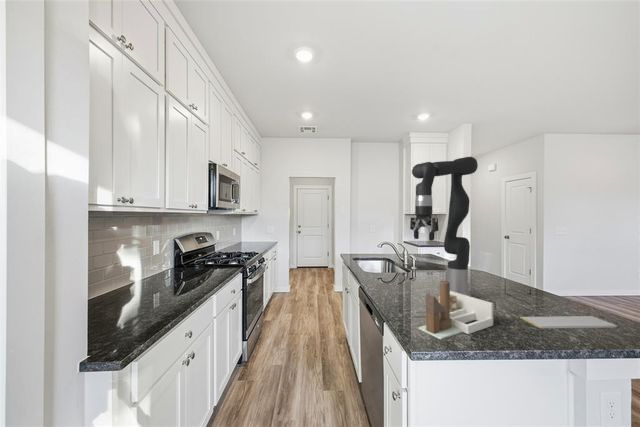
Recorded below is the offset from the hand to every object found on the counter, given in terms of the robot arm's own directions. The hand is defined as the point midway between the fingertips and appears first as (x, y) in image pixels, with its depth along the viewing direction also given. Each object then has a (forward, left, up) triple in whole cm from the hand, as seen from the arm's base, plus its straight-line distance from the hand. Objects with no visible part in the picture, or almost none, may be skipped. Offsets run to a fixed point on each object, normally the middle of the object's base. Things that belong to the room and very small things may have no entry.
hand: (423, 239), depth 122 cm
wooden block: (+12, +18, -33) cm, 39 cm away
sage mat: (+12, +18, -33) cm, 40 cm away
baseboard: (-41, +37, -34) cm, 65 cm away
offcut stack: (-3, +10, -33) cm, 35 cm away
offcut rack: (-3, +16, -33) cm, 37 cm away
